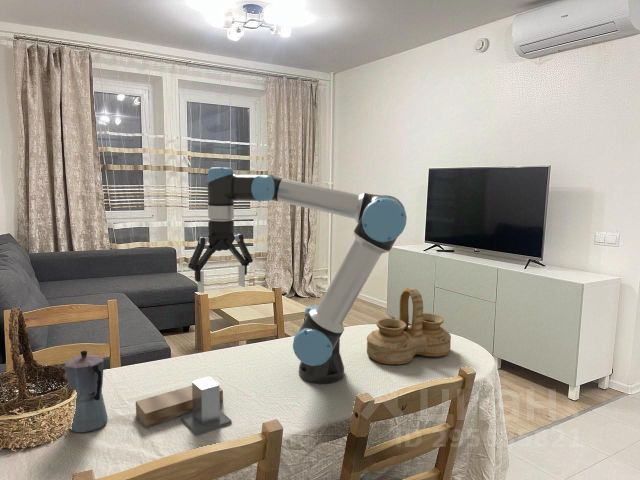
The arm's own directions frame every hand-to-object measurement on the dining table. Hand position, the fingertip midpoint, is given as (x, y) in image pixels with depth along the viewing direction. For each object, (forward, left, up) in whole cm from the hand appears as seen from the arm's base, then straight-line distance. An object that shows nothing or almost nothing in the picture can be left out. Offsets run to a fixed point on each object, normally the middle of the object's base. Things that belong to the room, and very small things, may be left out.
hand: (221, 288), depth 143 cm
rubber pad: (-6, +22, -31) cm, 38 cm away
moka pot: (+22, +32, -31) cm, 50 cm away
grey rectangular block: (-6, +22, -30) cm, 37 cm away
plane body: (+4, +18, -31) cm, 36 cm away
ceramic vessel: (-55, -42, -31) cm, 76 cm away
